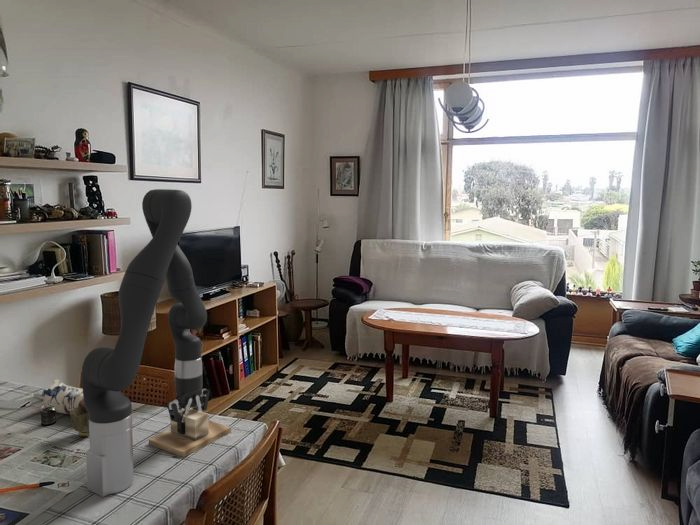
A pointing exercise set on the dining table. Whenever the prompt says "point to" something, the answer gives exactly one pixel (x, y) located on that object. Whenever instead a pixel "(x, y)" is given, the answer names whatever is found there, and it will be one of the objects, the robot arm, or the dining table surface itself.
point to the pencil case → (63, 397)
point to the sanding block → (193, 424)
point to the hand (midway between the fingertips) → (189, 429)
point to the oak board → (188, 440)
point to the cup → (80, 420)
